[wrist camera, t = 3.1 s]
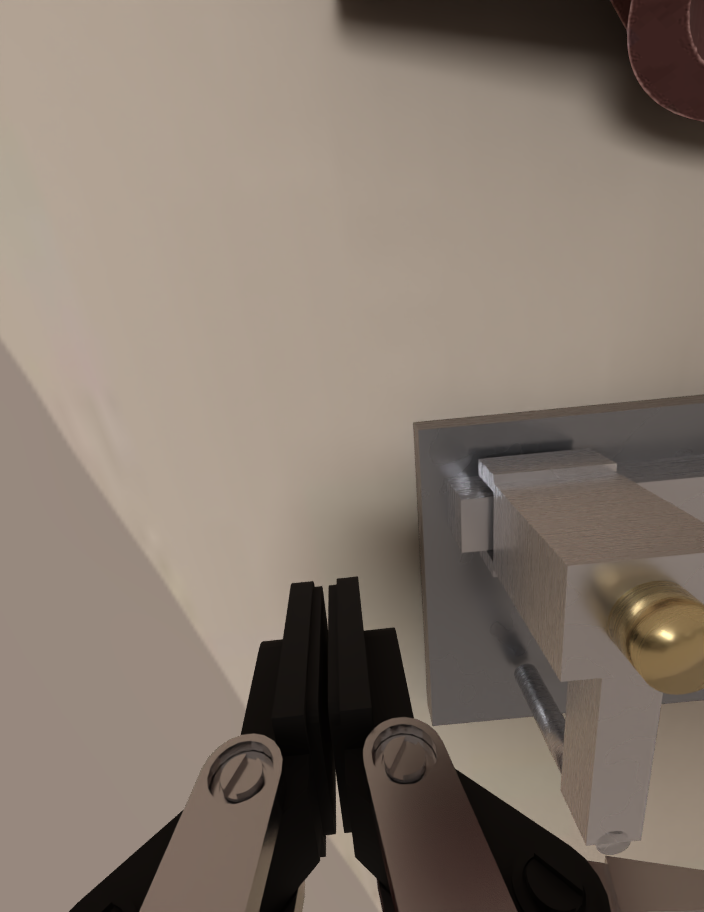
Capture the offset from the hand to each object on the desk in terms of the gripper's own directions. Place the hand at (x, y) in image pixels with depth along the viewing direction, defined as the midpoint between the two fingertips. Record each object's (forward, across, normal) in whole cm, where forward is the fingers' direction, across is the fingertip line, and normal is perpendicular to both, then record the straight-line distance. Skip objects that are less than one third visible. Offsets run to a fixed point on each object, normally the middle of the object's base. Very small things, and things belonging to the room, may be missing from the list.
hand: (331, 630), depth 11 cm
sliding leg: (+6, -7, +3) cm, 10 cm away
